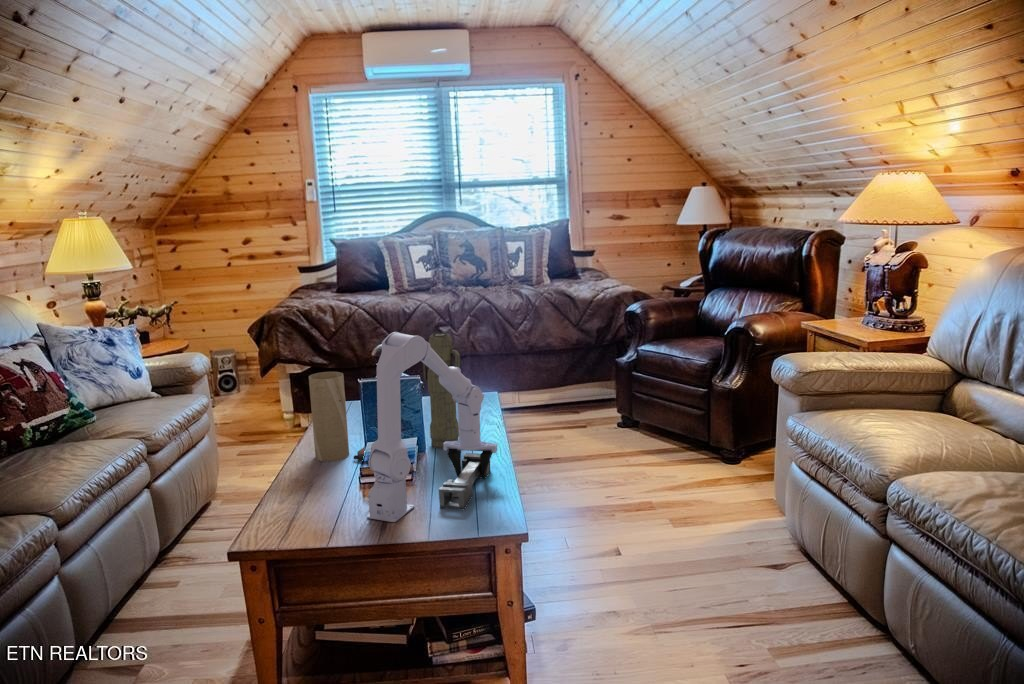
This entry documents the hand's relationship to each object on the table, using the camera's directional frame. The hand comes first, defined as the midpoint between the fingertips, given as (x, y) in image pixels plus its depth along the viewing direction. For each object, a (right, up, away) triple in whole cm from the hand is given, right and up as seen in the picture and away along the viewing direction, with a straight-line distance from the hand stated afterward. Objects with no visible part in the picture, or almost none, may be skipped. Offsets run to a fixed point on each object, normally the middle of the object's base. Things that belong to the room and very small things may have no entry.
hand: (471, 476), depth 193 cm
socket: (+1, 0, +5) cm, 5 cm away
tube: (-43, +2, +23) cm, 49 cm away
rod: (-1, -1, -4) cm, 4 cm away
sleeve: (-3, -4, -14) cm, 14 cm away
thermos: (-10, +4, +31) cm, 33 cm away
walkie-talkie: (-26, +1, +18) cm, 31 cm away
